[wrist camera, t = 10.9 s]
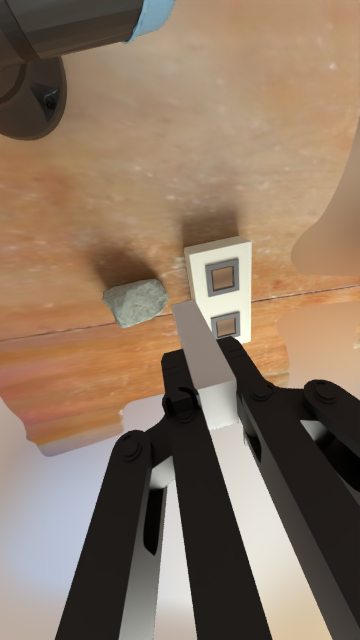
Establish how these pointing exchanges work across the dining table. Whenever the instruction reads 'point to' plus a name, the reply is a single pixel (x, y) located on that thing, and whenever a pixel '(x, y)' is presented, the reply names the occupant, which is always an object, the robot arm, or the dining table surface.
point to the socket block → (226, 299)
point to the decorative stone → (136, 301)
